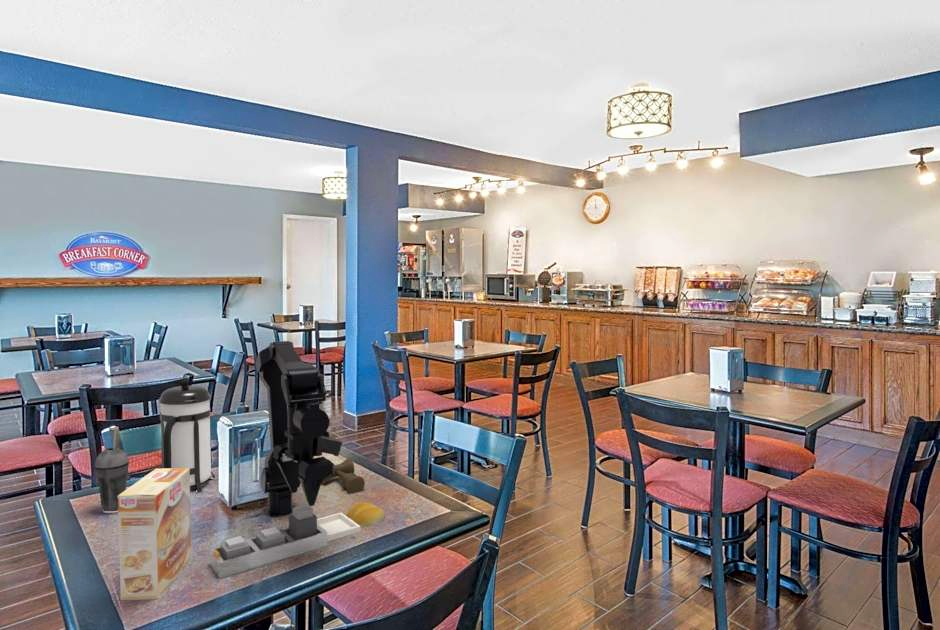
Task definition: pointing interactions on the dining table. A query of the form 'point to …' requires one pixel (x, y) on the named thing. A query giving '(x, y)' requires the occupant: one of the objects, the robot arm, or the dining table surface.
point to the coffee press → (186, 431)
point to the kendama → (347, 477)
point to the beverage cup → (111, 475)
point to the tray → (338, 526)
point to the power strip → (265, 553)
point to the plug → (302, 522)
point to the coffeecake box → (154, 533)
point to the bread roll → (365, 514)
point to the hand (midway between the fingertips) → (302, 498)
